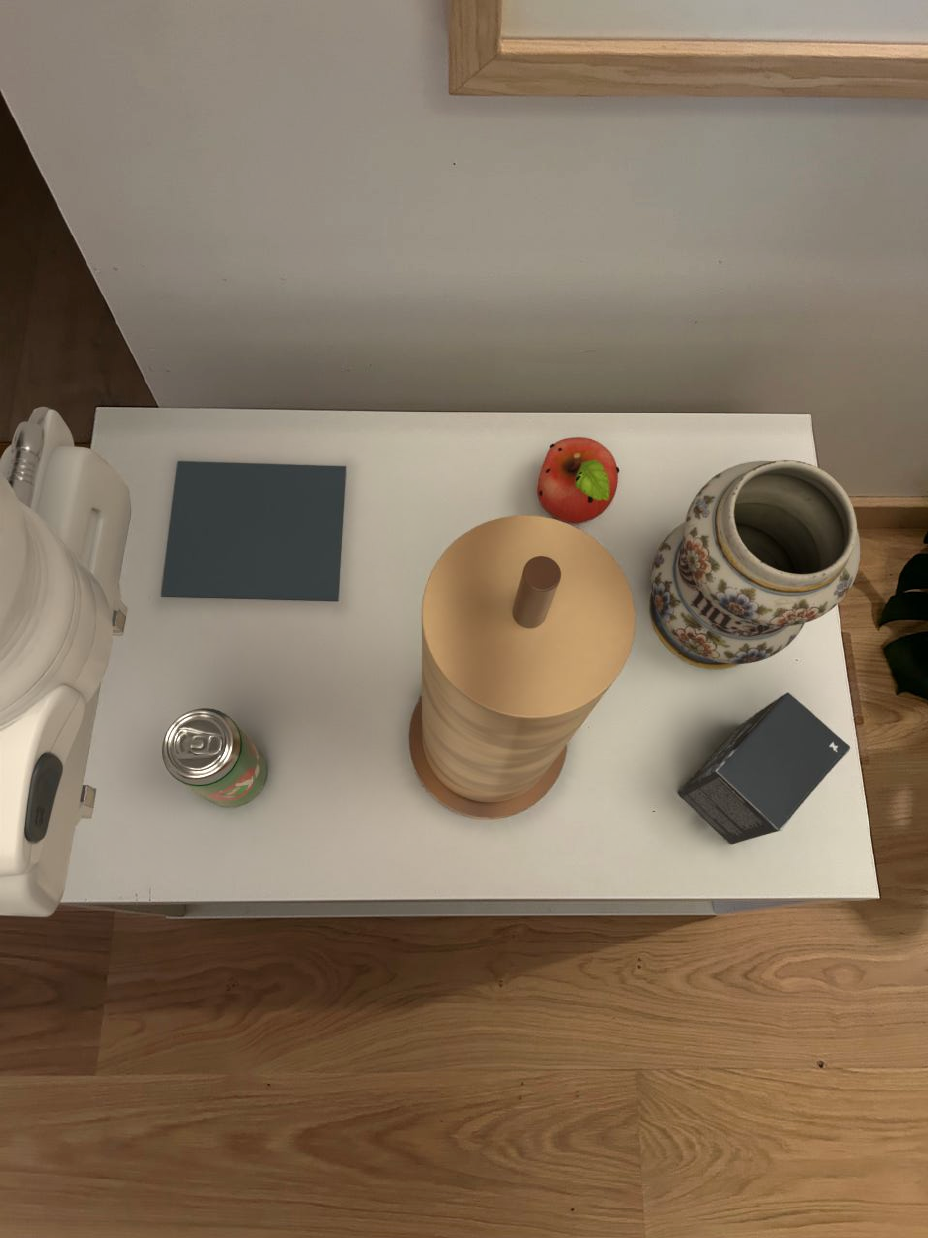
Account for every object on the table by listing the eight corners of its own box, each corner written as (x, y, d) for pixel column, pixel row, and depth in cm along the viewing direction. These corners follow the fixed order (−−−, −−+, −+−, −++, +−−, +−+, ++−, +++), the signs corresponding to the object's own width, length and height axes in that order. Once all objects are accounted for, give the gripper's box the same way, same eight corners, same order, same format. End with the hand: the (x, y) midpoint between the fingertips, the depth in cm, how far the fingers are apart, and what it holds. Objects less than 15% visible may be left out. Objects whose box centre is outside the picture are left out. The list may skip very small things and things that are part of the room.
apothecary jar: (802, 667, 75) (914, 587, 58) (658, 695, 74) (729, 623, 57) (756, 530, 79) (849, 418, 62) (618, 556, 77) (674, 448, 60)
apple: (511, 494, 79) (523, 434, 69) (573, 451, 80) (593, 387, 71) (569, 562, 77) (589, 510, 68) (632, 517, 79) (660, 460, 69)
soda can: (204, 739, 71) (163, 702, 60) (271, 742, 71) (242, 705, 60) (196, 807, 70) (152, 782, 58) (264, 809, 70) (234, 785, 58)
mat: (161, 596, 75) (161, 595, 75) (178, 461, 79) (177, 460, 78) (338, 601, 75) (338, 600, 75) (346, 467, 79) (345, 465, 79)
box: (739, 722, 73) (789, 689, 63) (795, 774, 72) (855, 748, 62) (673, 793, 71) (714, 770, 61) (730, 848, 70) (781, 833, 60)
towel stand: (406, 818, 70) (392, 711, 37) (411, 663, 74) (402, 440, 41) (566, 820, 70) (695, 718, 37) (563, 666, 74) (676, 449, 41)
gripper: (-46, 379, 38) (69, 518, 51) (-180, 909, 32) (-9, 912, 45) (112, 392, 38) (186, 527, 51) (11, 920, 32) (125, 920, 45)
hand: (95, 710), depth 48 cm, fingers open, 8 cm apart
